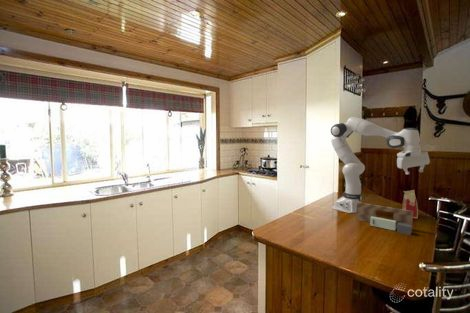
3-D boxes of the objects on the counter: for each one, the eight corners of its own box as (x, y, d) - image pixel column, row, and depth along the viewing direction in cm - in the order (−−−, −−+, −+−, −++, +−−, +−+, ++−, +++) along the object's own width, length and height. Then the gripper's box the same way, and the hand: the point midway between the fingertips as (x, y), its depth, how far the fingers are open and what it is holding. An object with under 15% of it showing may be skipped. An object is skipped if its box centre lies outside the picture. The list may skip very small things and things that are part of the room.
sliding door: (369, 225, 158) (370, 217, 157) (371, 224, 161) (371, 216, 160) (395, 230, 149) (395, 222, 148) (395, 229, 152) (396, 220, 151)
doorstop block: (396, 232, 148) (397, 224, 148) (397, 229, 152) (398, 222, 151) (410, 235, 143) (411, 227, 143) (411, 232, 147) (411, 224, 147)
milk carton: (414, 214, 179) (416, 188, 177) (418, 218, 171) (419, 191, 169) (400, 213, 183) (401, 187, 181) (402, 216, 175) (404, 190, 173)
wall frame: (356, 219, 170) (356, 202, 169) (357, 219, 171) (357, 202, 170) (411, 231, 149) (412, 211, 148) (412, 230, 151) (413, 211, 149)
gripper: (423, 149, 159) (424, 169, 160) (394, 154, 157) (396, 174, 158) (431, 150, 152) (433, 171, 153) (401, 155, 151) (403, 176, 152)
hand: (414, 173), depth 156 cm, fingers open, 8 cm apart
